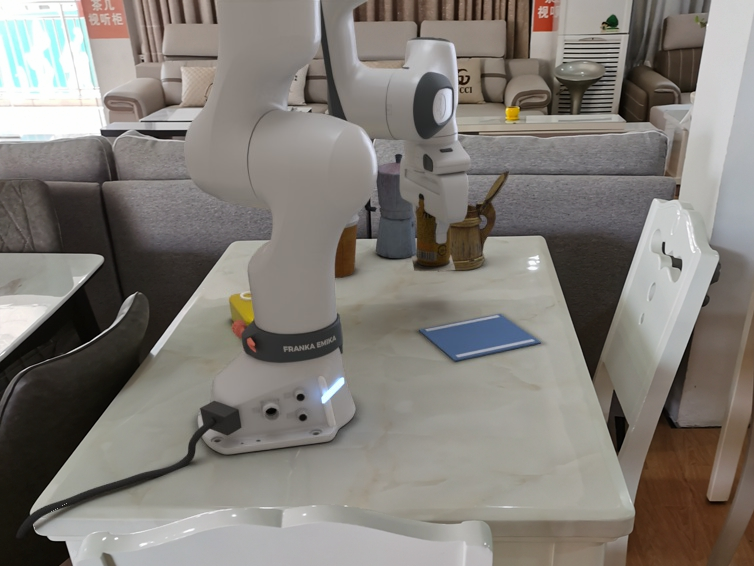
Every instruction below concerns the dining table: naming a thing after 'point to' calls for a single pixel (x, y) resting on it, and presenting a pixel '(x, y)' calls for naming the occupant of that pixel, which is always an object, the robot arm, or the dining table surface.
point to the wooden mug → (474, 230)
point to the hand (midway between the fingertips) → (431, 237)
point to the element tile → (241, 307)
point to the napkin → (478, 337)
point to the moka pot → (393, 214)
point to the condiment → (430, 244)
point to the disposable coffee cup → (346, 249)
